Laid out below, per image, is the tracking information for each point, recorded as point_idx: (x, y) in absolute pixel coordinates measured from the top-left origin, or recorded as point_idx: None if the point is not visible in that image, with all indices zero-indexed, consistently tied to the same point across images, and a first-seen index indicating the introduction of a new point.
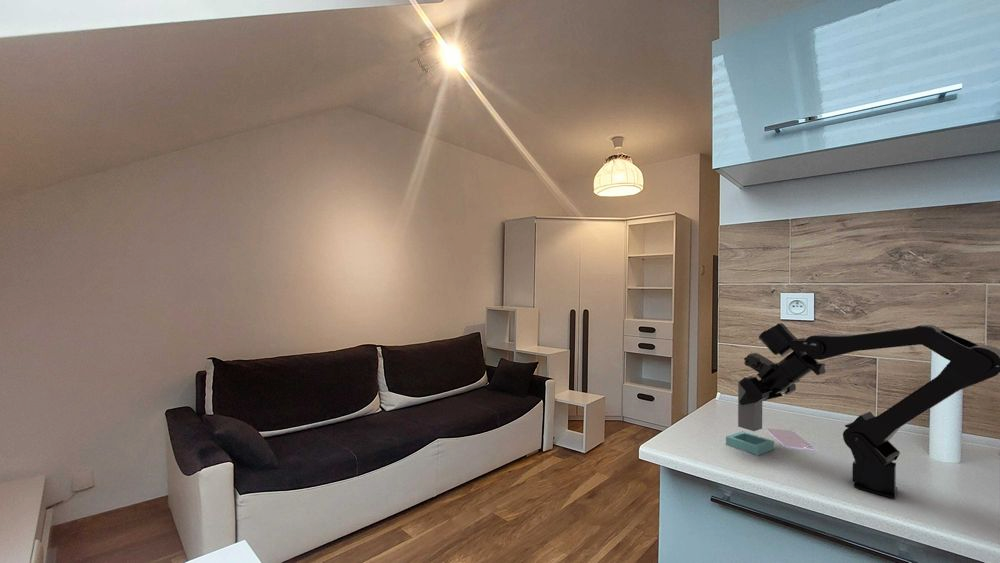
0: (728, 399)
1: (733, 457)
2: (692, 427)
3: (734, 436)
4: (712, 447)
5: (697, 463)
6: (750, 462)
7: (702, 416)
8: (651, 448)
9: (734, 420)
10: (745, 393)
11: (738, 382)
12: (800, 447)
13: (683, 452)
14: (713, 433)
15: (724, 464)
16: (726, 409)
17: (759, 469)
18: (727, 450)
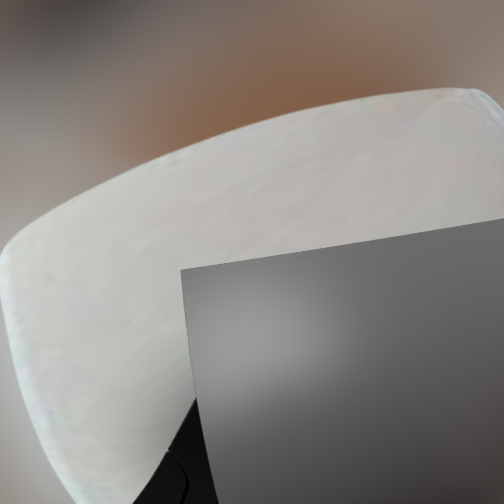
0: (487, 96)
1: (130, 409)
2: (245, 157)
3: None
4: (137, 319)
5: (17, 372)
6: (149, 457)
7: (362, 112)
8: (6, 250)
9: (434, 169)
10: (155, 478)
11: (187, 285)
12: None
13: (36, 306)
14: (269, 220)
15: (66, 419)
16: (458, 117)
17: (133, 490)
18: (163, 362)
